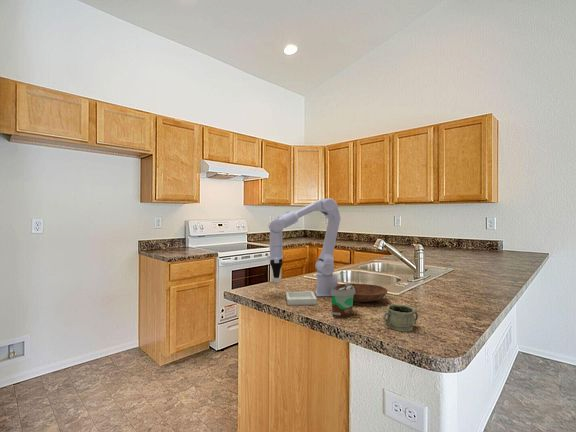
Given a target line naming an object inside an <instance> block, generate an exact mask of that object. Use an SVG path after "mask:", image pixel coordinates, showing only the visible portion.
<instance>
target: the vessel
mask: <svg viewBox="0 0 576 432" xmlns="http://www.w3.org/2000/svg"><path fill="white" fill-rule="evenodd" d="M418 319H419V313H418V312H417V310H415V307H413V306H410V305H406V304H398V303H397V304H396V303H395V304H389V305H388V306H387V311H385V312H384V313H383V320H384V322H385V326H387V327H389V326H390V327H389V328H391V329H393V330H394V331H399V332H411V331H413V330H414V327H413V325H417V321H418Z"/></svg>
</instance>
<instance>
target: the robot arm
mask: <svg viewBox="0 0 576 432" xmlns="http://www.w3.org/2000/svg"><path fill="white" fill-rule="evenodd" d="M315 211H316V212H320V213H322V214H323V215H324V216H325V217H326V219H327V221H328V222H327V225H326V230H325V234H324V235H325V236H324V239H323V245H322V248H321V249H322V250H321V252H320V254H319V256H318V259H317V261H316V262H315V266H314V267H315V270H316V271H317V272H316V290H315V291H314V294H315V296H316V297H332V296H331V289H332V290H336V289H335V287H336V286H338V285H339V282H338V275H336V274H333V273H334V271H335V265H334V262H335V259H334V256H333V255H334V252H335V251H334V250H335V245H336V241H337V238H338V237H337V236H338V232H339V226H340V222H341V214H340V212H339V204H338V203H337V202H336V200H335V199H333V198H331V197H328V198H321V199H319V200H316V201H313V202H310V203H309V204H307V205H306V206H303V207H302V208H300V209H298V210H297V211H294V210H288V211H286V212H285V213H284V214H282V215H281V216H280V215H278V216H276V218H275V219H271V221H270V222H269V224H268V229H269V255H267V256H266V258H267V259H269V261H270V262H269V264H270V266H272V270H273V275H274V278H279V275H280V269H281V270H282V265H283V264H284V263H283V258H284V255H283V253H284V252H283V249H284V246H283V242H284V240H283V239H284V237H283V231H284V229H286V228H287V229H288V227H291V226H292V225H295V224H296V223H298V221H299V219H300V218H302V217H304V216H306V215H309V214H311V213H313V212H315Z"/></svg>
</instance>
